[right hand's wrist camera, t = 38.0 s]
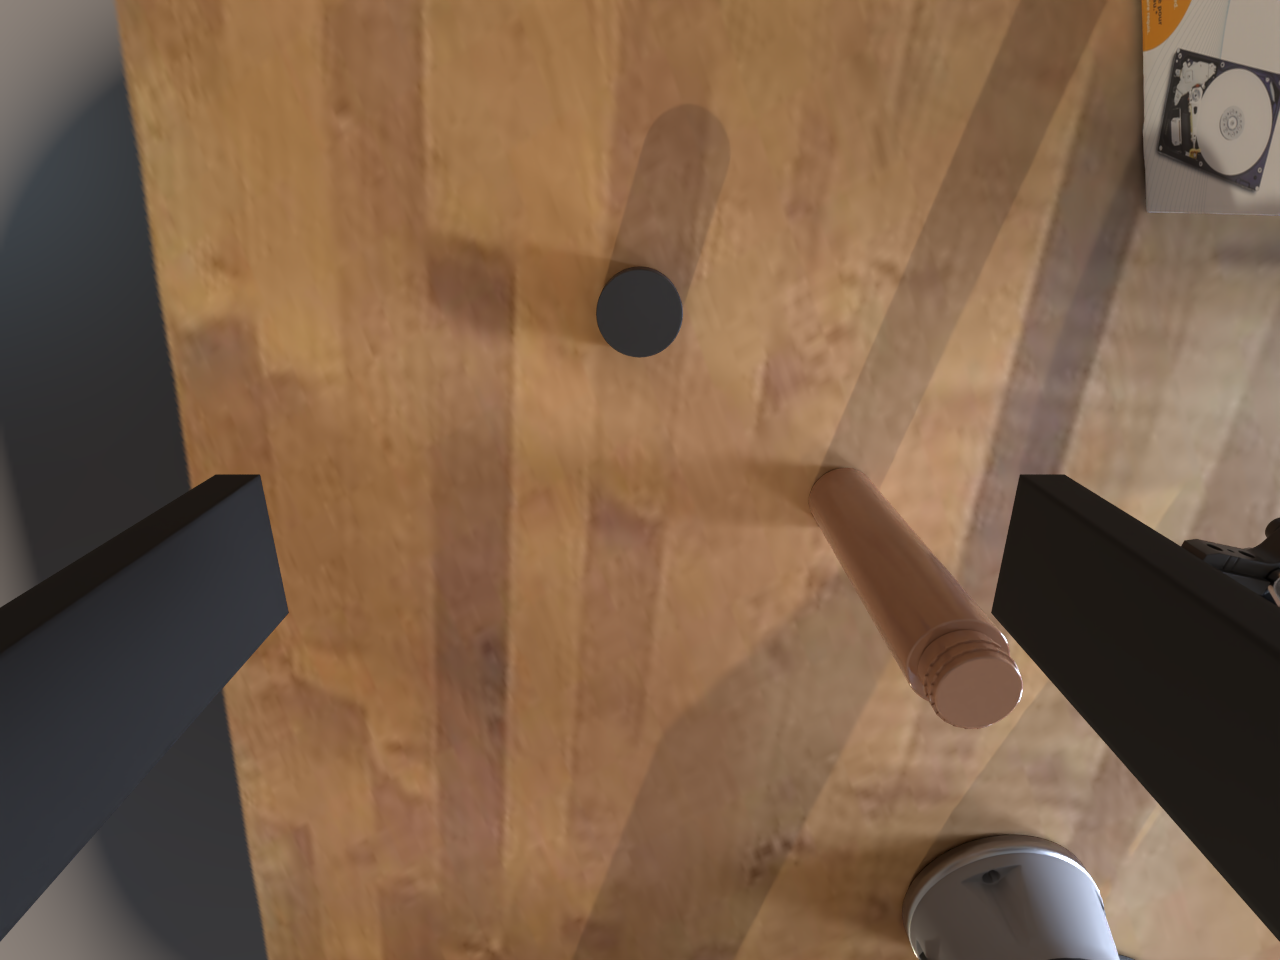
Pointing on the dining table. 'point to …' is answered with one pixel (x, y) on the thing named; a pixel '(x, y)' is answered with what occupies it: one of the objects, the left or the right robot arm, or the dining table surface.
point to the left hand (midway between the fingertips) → (1129, 636)
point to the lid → (639, 312)
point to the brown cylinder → (917, 604)
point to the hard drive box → (1212, 106)
